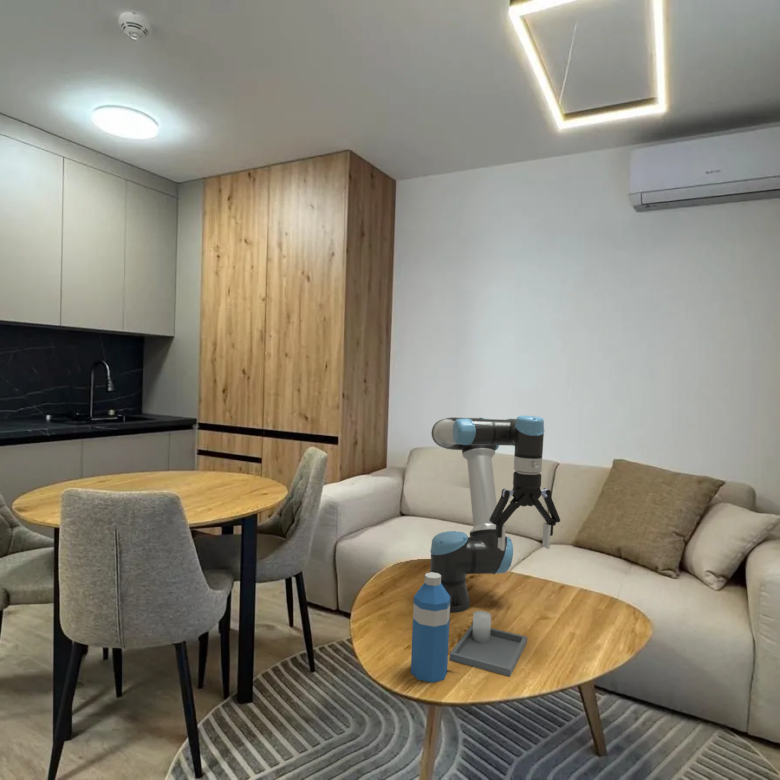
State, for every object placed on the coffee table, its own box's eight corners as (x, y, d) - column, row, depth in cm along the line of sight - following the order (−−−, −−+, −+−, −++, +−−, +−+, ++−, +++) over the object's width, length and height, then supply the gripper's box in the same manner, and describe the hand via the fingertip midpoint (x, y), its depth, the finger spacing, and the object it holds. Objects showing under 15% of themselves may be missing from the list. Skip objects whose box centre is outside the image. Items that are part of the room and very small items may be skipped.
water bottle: (408, 662, 145) (412, 568, 144) (443, 662, 146) (447, 568, 145) (412, 683, 136) (417, 582, 135) (450, 682, 137) (455, 582, 136)
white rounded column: (469, 640, 157) (471, 616, 157) (475, 633, 162) (476, 609, 161) (487, 644, 155) (488, 620, 155) (492, 637, 159) (493, 613, 159)
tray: (449, 662, 146) (449, 653, 146) (472, 631, 164) (472, 623, 164) (510, 679, 139) (510, 669, 139) (526, 645, 157) (527, 636, 157)
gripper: (491, 475, 147) (487, 554, 148) (575, 474, 153) (571, 550, 153) (480, 469, 154) (476, 545, 155) (561, 469, 160) (557, 542, 161)
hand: (523, 548), depth 154 cm, fingers open, 13 cm apart
